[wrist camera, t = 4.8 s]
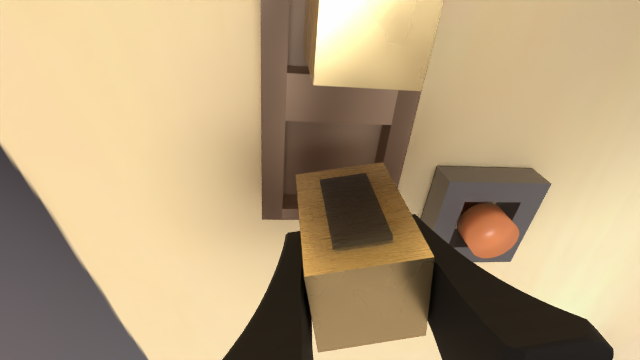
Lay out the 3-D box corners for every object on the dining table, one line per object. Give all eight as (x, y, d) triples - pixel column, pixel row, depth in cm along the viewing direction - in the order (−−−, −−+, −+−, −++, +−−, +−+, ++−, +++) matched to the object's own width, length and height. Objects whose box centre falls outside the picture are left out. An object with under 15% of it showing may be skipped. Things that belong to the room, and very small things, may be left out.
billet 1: (380, 55, 17) (421, 91, 12) (303, 49, 17) (313, 85, 12) (396, -42, 15) (455, -46, 10) (308, -52, 15) (324, -61, 10)
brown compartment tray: (438, -73, 16) (463, -79, 14) (379, 197, 24) (389, 219, 21) (262, -95, 15) (260, -105, 12) (263, 195, 23) (262, 219, 20)
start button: (509, 202, 23) (527, 221, 21) (492, 238, 25) (508, 258, 23) (465, 202, 23) (480, 221, 21) (451, 238, 24) (464, 258, 23)
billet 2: (383, 229, 17) (425, 335, 12) (306, 240, 17) (318, 352, 12) (382, 158, 15) (435, 252, 10) (295, 170, 15) (303, 272, 10)
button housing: (531, 168, 24) (551, 183, 22) (496, 243, 27) (510, 261, 26) (437, 165, 23) (449, 181, 21) (413, 244, 26) (422, 263, 25)
